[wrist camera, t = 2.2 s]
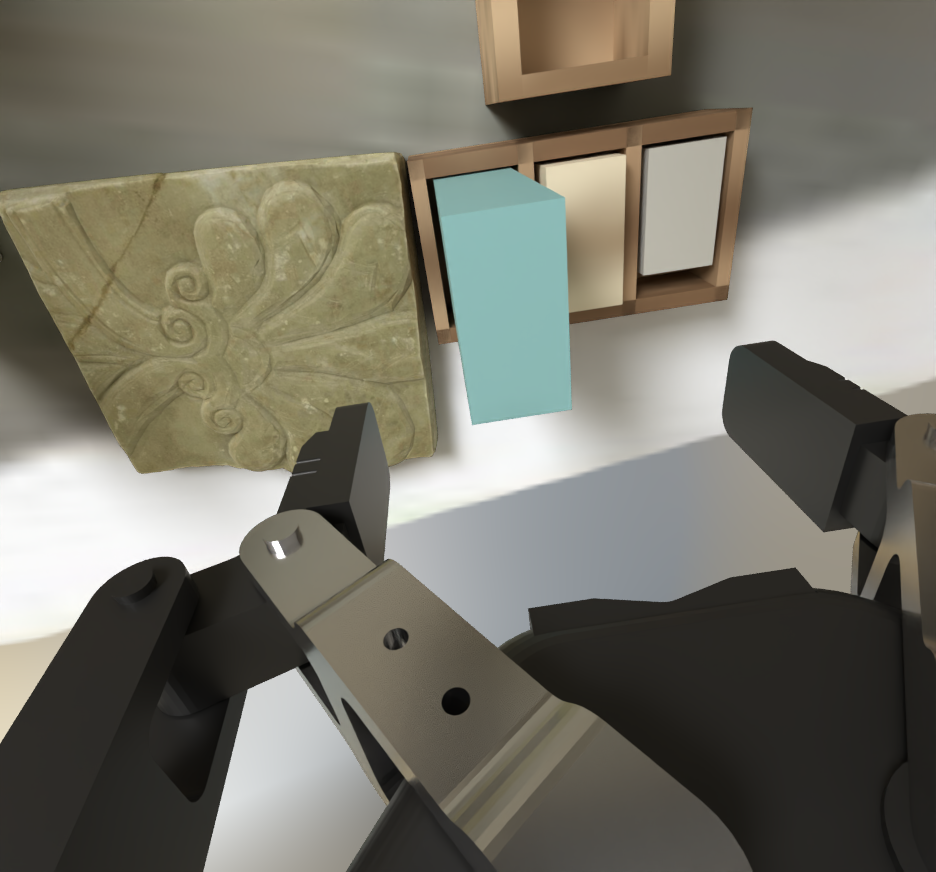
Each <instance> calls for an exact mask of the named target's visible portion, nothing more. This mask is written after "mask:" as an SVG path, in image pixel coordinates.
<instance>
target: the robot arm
mask: <svg viewBox="0 0 936 872" xmlns="http://www.w3.org/2000/svg"><path fill="white" fill-rule="evenodd" d="M722 418H723V423H724V427H725V429H726V431H727V433H728V435H729V436H730V437H731V438H732V439H733V440H734V441H735V442H736V443H737V444H738V445H739V446H740V447H741V448H742V450H743V451H744V452H745V453H746V454H747V455H748V456H749V457H750V458H751V459H752V460H753V461H754V462H755V463H756V464H757V465H758V466H759V467H760V468H761V469H762V470H763V471H764V472H765V473H766V474H767V475H768V476H769V477H770V478H771V479H772V480H773V481H774V482H775V483H776V484H777V485H778V486H779V487H780V488H781V489H782V490H783V491H784V492H785V493H786V494H787V495H788V496H789V497H790V498H791V499H792V500H793V501H794V502H795V504H797V506H798V507H799V508H800V509H801V510H802V511H803V512H804V513H805V514H806V515H807V516H808V517H809V518H810V519H811V520H812V521H813V522H814V523H815V524H816V525H817V526H818V527H819V528H820V529H821V530H822V531H823V532H828V531H835V530H841V529H848V528H854V527H855V528H856V529H857V530H858V533H857V536H856V539H855V542H854V545H853V556H852V575H851V593H850V594H848V593H844V592H839V591H832V590H825V589H817V588H812V587H811V586H810V584H809V583H808V582H807V581H806V580H805V578H804V577H803V576H802V575H801V574H800V572H799V571H798V570H797V569H796V568H790V569H783V570H777V571H771V572H764V573H757V574H752V575H744V576H737V577H731V578H728V579H725V580H723V581H720V582H718V583H716V584H713V585H711V586H708V587H706V588H704V589H701V590H699V591H696V592H694V593H691V594H689V595H686V596H684V597H682V598H679V599H677V600H674V601H670V602H649V601H631V600H612V599H587V600H580V601H574V602H568V603H561V604H554V605H548V606H541V607H535V608H529V609H528V612H529V621H530V630H528V631H526V632H524V633H521V634H519V635H517V636H515V637H514V638H512V639H510V640H508V641H506V642H505V643H504V644H502V645H501V646H500V647H498V648H497V647H496V646H495V645H494V644H492V643H491V642H490V641H489V640H488V639H486V638H485V637H484V636H483V635H482V634H481V633H479V632H478V631H477V630H476V629H475V628H474V627H472V626H471V625H470V624H469V623H468V622H466V621H465V620H464V619H463V618H462V617H461V616H460V615H458V614H457V613H456V612H455V611H454V610H452V609H451V608H450V607H449V606H448V605H447V604H446V603H444V602H443V601H442V600H441V599H440V598H439V597H437V596H436V595H435V594H434V593H433V592H432V591H430V590H429V589H428V588H427V587H426V586H424V585H423V584H422V583H421V582H420V581H419V580H417V579H416V578H415V577H414V576H413V575H411V574H410V573H409V572H408V571H407V570H406V569H405V568H403V567H402V566H401V565H400V564H399V563H397V562H396V561H394V560H391V559H387V560H385V561H384V552H385V540H386V529H387V517H388V506H389V494H390V476H389V468H388V463H387V459H386V455H385V451H384V447H383V443H382V440H381V436H380V432H379V428H378V424H377V420H376V417H375V413H374V410H373V407H372V405H371V403H370V402H367V403H360V404H354V405H347V406H341V407H336V409H335V412H334V415H333V418H332V422H331V425H330V428H329V430H328V431H322V432H316V433H315V434H314V435H313V436H312V437H311V438H310V439H309V440H308V441H307V442H306V443H305V444H304V445H303V446H302V447H301V450H300V452H299V455H298V458H297V461H296V463H297V464H295V466H294V469H293V471H292V477H290V479H289V482H288V485H287V488H286V490H285V493H284V496H283V498H282V501H281V504H280V506H279V509H278V512H277V514H276V515H274V516H271V517H269V518H267V519H265V520H264V521H262V522H261V523H259V524H258V525H256V526H255V527H254V528H253V529H252V530H251V531H250V532H249V533H248V534H247V535H246V536H245V538H244V539H243V541H242V543H241V545H240V550H239V554H240V555H238V556H237V557H235V558H232V559H230V560H227V561H225V562H222V563H219V564H217V565H214V566H211V567H209V568H206V569H203V570H201V571H198V572H195V573H193V574H189V572H188V571H187V569H186V567H185V566H184V564H183V563H182V562H181V561H180V560H179V559H176V558H173V557H157V558H152V559H148V560H145V561H142V562H139V563H136V564H134V565H132V566H130V567H128V568H126V569H124V570H122V571H121V572H119V573H118V574H116V575H114V576H113V577H112V578H111V579H109V580H108V581H107V582H106V583H104V584H103V585H102V586H101V587H100V588H99V589H98V590H97V591H96V593H95V594H94V595H93V597H92V598H91V599H90V601H89V602H88V604H87V606H86V607H85V609H84V611H83V612H82V614H81V615H80V617H79V619H78V620H77V622H76V623H75V625H74V627H73V628H72V630H71V631H70V633H69V635H68V636H67V638H66V639H65V641H64V643H63V644H62V646H61V647H60V649H59V651H58V652H57V654H56V656H55V657H54V659H53V660H52V662H51V663H50V665H49V667H48V668H47V670H46V671H45V673H44V675H43V676H42V678H41V679H40V681H39V683H38V684H37V686H36V687H35V689H34V691H33V692H32V694H31V696H30V697H29V699H28V700H27V702H26V703H25V705H24V707H23V708H22V710H21V711H20V713H19V715H18V716H17V718H16V719H15V721H14V723H13V724H12V726H11V727H10V729H9V731H8V732H7V734H6V735H5V737H4V739H3V740H2V742H1V743H0V872H203V870H204V866H205V862H206V858H207V853H208V850H209V845H210V841H211V837H212V833H213V829H214V825H215V821H216V817H217V813H218V808H219V805H220V801H221V796H222V792H223V788H224V784H225V780H226V776H227V772H228V768H229V764H230V760H231V756H232V751H233V747H234V743H235V739H236V735H237V731H238V727H239V723H240V719H241V715H242V711H243V706H244V702H245V698H246V694H247V690H248V689H249V688H252V687H254V686H256V685H258V684H260V683H263V682H265V681H267V680H269V679H272V678H274V677H276V676H278V675H280V674H283V673H285V672H287V671H289V670H292V669H294V668H296V670H297V671H298V673H299V674H300V675H301V677H302V678H303V680H304V681H305V682H306V684H307V686H308V687H309V689H310V690H311V691H312V693H313V694H314V696H315V697H316V699H317V700H318V701H319V703H320V704H321V706H322V707H323V709H324V710H325V712H326V713H327V714H328V716H329V717H330V719H331V720H332V722H333V723H334V725H335V726H336V727H337V729H338V730H339V732H340V733H341V735H342V736H343V738H344V739H345V741H346V742H347V744H348V745H349V747H350V748H351V750H352V752H353V753H354V755H355V757H356V759H357V761H358V762H359V764H360V766H361V767H362V769H363V771H364V772H365V774H366V776H367V777H368V779H369V780H370V782H371V784H372V785H373V787H374V788H375V790H376V791H377V793H378V794H379V796H380V797H381V799H382V800H383V801H384V803H385V804H386V806H387V807H386V808H385V810H384V812H383V813H382V815H381V817H380V818H379V820H378V821H377V823H376V825H375V826H374V828H373V829H372V831H371V833H370V834H369V836H368V837H367V839H366V840H365V842H364V844H363V845H362V847H361V848H360V850H359V852H358V853H357V855H356V856H355V858H354V860H353V861H352V863H351V864H350V866H349V868H348V869H347V871H346V872H936V414H929V413H926V414H914V415H909V416H908V415H906V414H904V413H903V412H901V411H899V410H897V409H895V408H894V407H893V406H891V405H889V404H888V403H886V402H884V401H883V400H881V399H879V398H878V397H876V396H874V395H873V394H871V393H869V392H868V391H866V390H864V389H863V390H861V389H860V387H859V386H858V385H856V384H854V383H853V382H851V381H849V380H845V377H843V376H841V375H840V374H838V373H836V372H835V371H833V370H831V369H830V368H828V367H826V366H823V365H820V364H817V363H814V362H811V361H807V360H805V359H804V358H802V357H801V356H799V355H797V354H796V353H794V352H793V351H791V350H789V349H788V348H786V347H784V346H783V345H781V344H780V343H778V342H776V341H766V342H760V343H753V344H747V345H741V346H737V347H735V348H734V349H733V351H732V352H731V355H730V359H729V366H728V373H727V380H726V387H725V394H724V401H723V408H722Z"/></svg>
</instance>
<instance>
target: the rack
mask: <svg viewBox="0 0 936 872" xmlns="http://www.w3.org/2000/svg"><path fill="white" fill-rule="evenodd" d="M752 109H753V108H728V109H704V110H698V111H692V112H685V113H679V114H673V115H666V116H660V117H653V118H647V119H641V120H634V121H628V122H622V123H615V124H609V125H602V126H596V127H590V128H583V129H577V130H571V131H564V132H558V133H551V134H545V135H539V136H532V137H526V138H520V139H513V140H507V141H500V142H494V143H488V144H481V145H475V146H469V147H462V148H456V149H450V150H443V151H437V152H430V153H424V154H418V155H411V156H409V157H408V161H407V164H408V170H409V176H410V182H411V187H412V193H413V199H414V205H415V211H416V216H417V222H418V228H419V234H420V239H421V245H422V251H423V257H424V262H425V268H426V274H427V280H428V286H429V291H430V297H431V303H432V309H433V314H434V320H435V326H436V332H437V337H438V343H439V344H445V343H451V342H458V337H457V331H456V325H455V319H454V313H453V307H452V301H451V294H450V288H449V281H448V275H447V268H446V262H445V255H444V248H443V242H442V235H441V229H440V222H439V216H438V209H437V202H436V196H435V189H434V183H433V178H435V177H442V176H448V175H455V174H461V173H467V172H474V171H480V170H486V169H493V168H499V167H506V166H508V167H510V168H512V169H514V170H515V171H517V172H519V173H521V174H523V175H525V176H526V177H528V178H530V179H532V180H534V181H535V179H534V162H537V161H544V160H550V159H557V158H563V157H569V156H576V155H582V154H588V153H595V152H601V151H607V152H612V153H618V154H624V155H626V183H625V224H624V264H623V304H622V305H616V306H609V307H603V308H597V309H590V310H584V311H577V312H571V313H569V324H574V323H580V322H587V321H593V320H599V319H606V318H612V317H619V316H625V315H632V314H638V313H644V312H651V311H657V310H664V309H670V308H677V307H683V306H689V305H696V304H702V303H709V302H715V301H722V300H727V298H728V290H729V283H730V275H731V268H732V260H733V253H734V245H735V238H736V230H737V222H738V215H739V207H740V200H741V192H742V185H743V177H744V170H745V162H746V155H747V147H748V140H749V132H750V125H751V117H752ZM703 135H705V136H722V137H727V138H726V147H725V156H724V165H723V174H722V183H721V191H720V200H719V209H718V218H717V227H716V236H715V244H714V253H713V262H712V265H708V266H702V267H696V268H689V269H683V270H676V271H670V272H663V273H657V274H651V275H644V276H643V275H642V274H640V273H639V272H637V255H638V228H639V202H640V176H641V150H642V145H646V144H652V143H659V142H665V141H671V140H678V139H684V138H691V137H697V136H703Z"/></svg>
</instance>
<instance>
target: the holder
mask: <svg viewBox="0 0 936 872" xmlns="http://www.w3.org/2000/svg"><path fill="white" fill-rule="evenodd" d="M475 2H476V12H477V23H478V33H479V43H480V53H481V64H482V74H483V84H484V94H485V105H489V104H496V103H502V102H508V101H515V100H521V99H527V98H534V97H540V96H546V95H553V94H559V93H566V92H572V91H578V90H585V89H591V88H597V87H604V86H610V85H616V84H623V83H629V82H634V81H640V80H646V79H652V78H657V77H663V76H669V75H671V65H672V48H673V32H674V15H675V0H475Z"/></svg>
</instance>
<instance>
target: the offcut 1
mask: <svg viewBox="0 0 936 872" xmlns="http://www.w3.org/2000/svg"><path fill="white" fill-rule="evenodd" d="M534 179H535V181H536V182H538V183H539V184H541V185H543V186H545V187H547V188H549V189H550V190H552V191H554V192H556V193H558V194H560V195H561V196H563V197H565V209H566V241H567V273H568V305H569V313H571V312H577V311H584V310H590V309H597V308H603V307H609V306H616V305H622V304H623V264H624V224H625V183H626V155H624V154H618V153H612V152H607V151H601V152H595V153H588V154H582V155H576V156H569V157H563V158H557V159H550V160H544V161H537V162H534Z"/></svg>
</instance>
